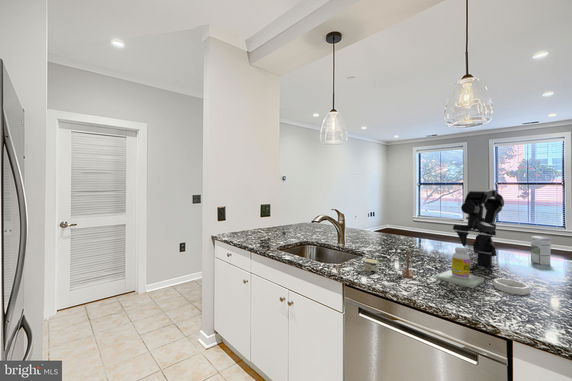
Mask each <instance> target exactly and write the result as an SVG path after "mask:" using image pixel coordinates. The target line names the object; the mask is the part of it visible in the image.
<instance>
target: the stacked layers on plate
mask: <svg viewBox="0 0 572 381" xmlns="http://www.w3.org/2000/svg"><path fill="white" fill-rule="evenodd" d="M363 264H364V265H363V268H364V269H363V270H364V271H366V272H369V273H371V272H375V273H378V269H379V267H378V265H379V260H377V259H371V258H364V262H363Z"/></svg>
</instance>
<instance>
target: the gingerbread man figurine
mask: <svg viewBox="0 0 572 381" xmlns="http://www.w3.org/2000/svg"><path fill="white" fill-rule="evenodd" d="M402 275H403V278H404V279H410V280H411V279H414V276H413V271H412V270H410V250H409V249H407V250H406V269H403V270H402Z"/></svg>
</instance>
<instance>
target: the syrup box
mask: <svg viewBox="0 0 572 381" xmlns="http://www.w3.org/2000/svg"><path fill="white" fill-rule="evenodd" d="M530 238H531V240H530V241H531V244H530V262H532V263H534V264H538V265H541V266H545V265H546V266H548V265H551V250H552V248H551V247H552V245H551V244H552V238H550V237H546V236H542V235H541V236H540V235H533V236H531V237H530Z"/></svg>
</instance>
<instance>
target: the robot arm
mask: <svg viewBox="0 0 572 381" xmlns="http://www.w3.org/2000/svg"><path fill="white" fill-rule="evenodd" d="M504 206H505V199H504V197H503V196H502V195H501V194H499V193H498V192H497V190H496V189H490V188H489V189H484V190H470V191H468V192H467V194H466V197H465V199H464V202H463V203H462V205H461V211H462V212H463V213H464V214H467V215H468V216H466V218H465V220H467V224H465V225H462V224H454V225H453V227H452V230H453V231H454V232H455V233H456V234H457V236H458V238H459V240H460V243H461V244H462V246H463V247H466V245H467V240H468V238H467V237H468V235H469V234H470V232H473V233H478V234H477V235H476V236H475V240H474V241H473V243H472V248H473V253H474V254H477V258H476V259H477V261H476V262H474V265H476V266H480V267H484V268H488V269H489V268H494V267H495V264H494V265H493V264H492V263H493V262H492V261H493V260H492V259H493V258H492V257H497V249H496V246H495V243H494V241H493V237H494V236H495V237H496V235H497V231H496V228H497V224H496V218H497V215H498V214H499V213H501V211H502V210H503V207H504ZM484 209H485V211H486V212H485V214H484ZM483 216H484V218H483Z"/></svg>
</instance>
